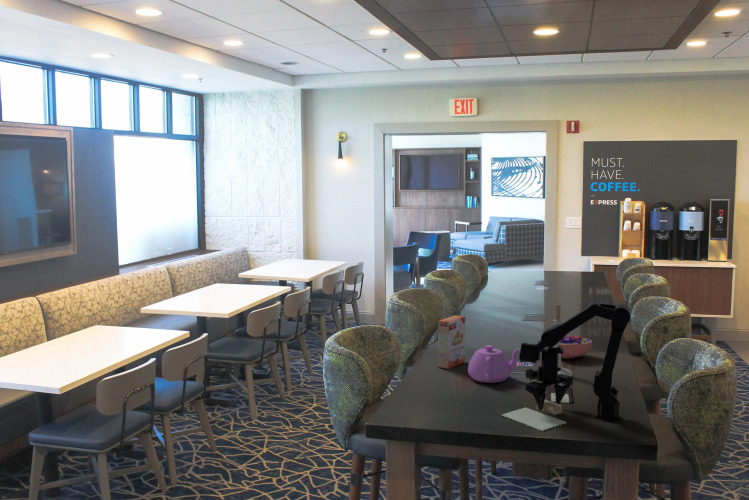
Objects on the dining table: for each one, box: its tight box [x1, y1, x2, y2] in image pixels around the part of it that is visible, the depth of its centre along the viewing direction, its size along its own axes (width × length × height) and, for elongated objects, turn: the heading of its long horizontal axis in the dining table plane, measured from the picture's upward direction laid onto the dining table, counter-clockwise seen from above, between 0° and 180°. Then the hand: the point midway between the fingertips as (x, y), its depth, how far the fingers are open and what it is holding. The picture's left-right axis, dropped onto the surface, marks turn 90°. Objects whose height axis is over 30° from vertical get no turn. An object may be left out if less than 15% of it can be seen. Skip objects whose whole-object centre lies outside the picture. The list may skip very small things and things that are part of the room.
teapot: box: [467, 344, 521, 384], centre depth 280 cm, size 22×22×14 cm
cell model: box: [553, 334, 593, 360], centre depth 310 cm, size 17×20×11 cm
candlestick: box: [552, 303, 573, 378], centre depth 285 cm, size 13×13×30 cm
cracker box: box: [437, 314, 466, 370], centre depth 301 cm, size 14×6×21 cm, turn 143°
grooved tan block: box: [536, 399, 563, 416], centre depth 243 cm, size 8×4×3 cm, turn 36°
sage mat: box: [501, 407, 567, 432], centre depth 235 cm, size 18×12×1 cm, turn 36°
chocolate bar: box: [546, 386, 574, 404], centre depth 260 cm, size 9×1×18 cm
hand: (549, 407), depth 243 cm, fingers open, 9 cm apart
